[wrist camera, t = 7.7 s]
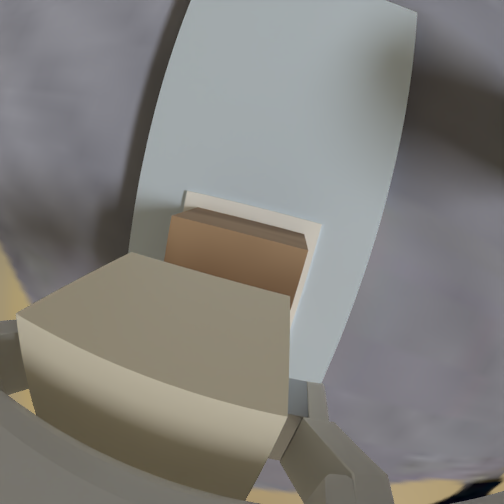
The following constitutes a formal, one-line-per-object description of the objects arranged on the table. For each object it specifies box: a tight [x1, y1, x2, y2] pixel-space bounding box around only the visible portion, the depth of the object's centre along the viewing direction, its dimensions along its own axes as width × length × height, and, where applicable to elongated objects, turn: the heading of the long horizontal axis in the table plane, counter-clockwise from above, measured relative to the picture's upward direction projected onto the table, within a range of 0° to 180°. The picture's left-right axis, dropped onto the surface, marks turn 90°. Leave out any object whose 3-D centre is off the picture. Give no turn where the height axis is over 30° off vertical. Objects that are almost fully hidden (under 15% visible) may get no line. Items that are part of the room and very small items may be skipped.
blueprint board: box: [128, 0, 417, 383], centre depth 17 cm, size 26×14×2 cm, turn 167°
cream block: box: [16, 252, 290, 501], centre depth 7 cm, size 5×5×5 cm
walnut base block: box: [164, 207, 308, 310], centre depth 16 cm, size 6×6×4 cm
